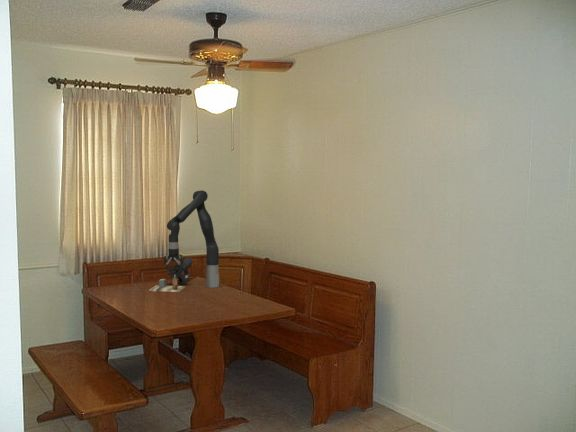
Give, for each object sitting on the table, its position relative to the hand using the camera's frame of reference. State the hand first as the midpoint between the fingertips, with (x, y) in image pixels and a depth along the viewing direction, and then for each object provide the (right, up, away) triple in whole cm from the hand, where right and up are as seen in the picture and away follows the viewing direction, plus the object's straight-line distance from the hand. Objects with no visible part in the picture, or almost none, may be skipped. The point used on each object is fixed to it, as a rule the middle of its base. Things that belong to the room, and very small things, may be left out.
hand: (173, 269), depth 403 cm
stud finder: (-10, -14, +9) cm, 20 cm away
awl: (+1, -15, 0) cm, 15 cm away
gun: (0, -14, +24) cm, 28 cm away
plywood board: (-6, -15, +5) cm, 17 cm away
